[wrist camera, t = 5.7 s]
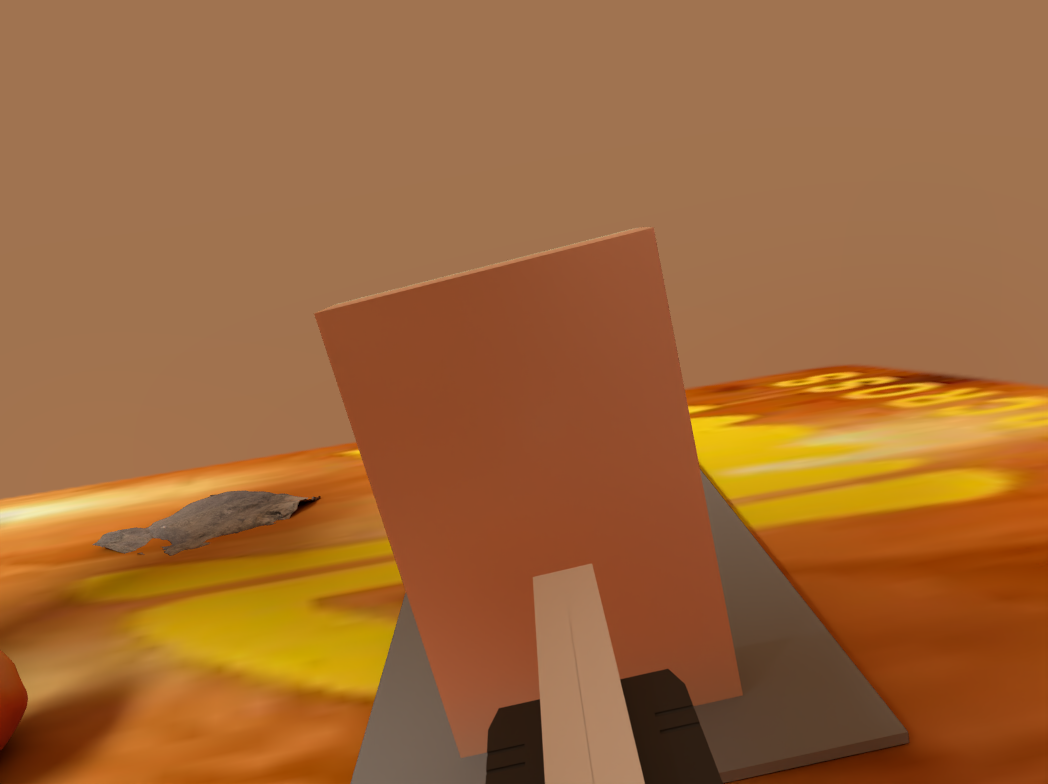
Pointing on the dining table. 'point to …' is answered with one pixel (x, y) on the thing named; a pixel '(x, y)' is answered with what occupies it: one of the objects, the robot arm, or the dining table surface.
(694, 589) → the terracotta tile
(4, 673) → the fruit
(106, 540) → the stone slab
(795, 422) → the dining table surface
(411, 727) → the rubber mat
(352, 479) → the dining table surface
